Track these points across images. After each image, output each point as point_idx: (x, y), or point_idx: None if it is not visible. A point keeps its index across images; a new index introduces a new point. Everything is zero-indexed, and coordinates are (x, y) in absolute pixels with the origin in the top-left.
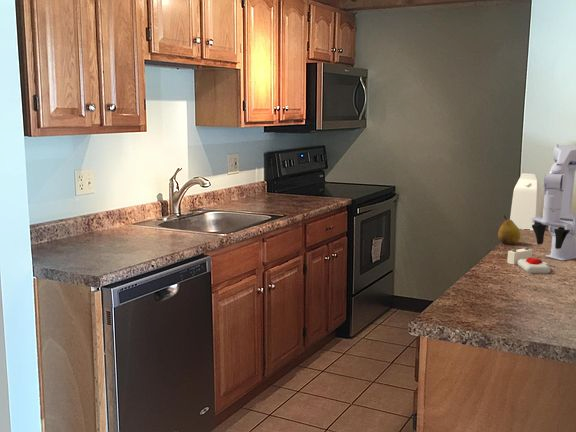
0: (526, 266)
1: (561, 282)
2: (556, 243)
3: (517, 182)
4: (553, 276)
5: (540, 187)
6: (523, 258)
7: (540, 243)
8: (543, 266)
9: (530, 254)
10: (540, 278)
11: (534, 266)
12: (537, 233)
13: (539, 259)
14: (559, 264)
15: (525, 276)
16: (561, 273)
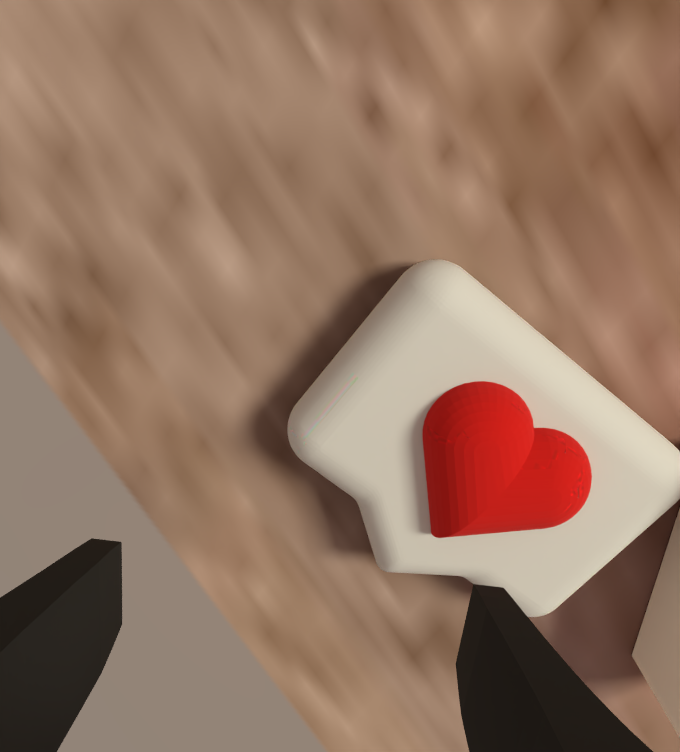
0: (482, 296)
1: (28, 221)
2: (41, 584)
3: None
4: (209, 358)
5: None
6: None
7: (467, 629)
8: (336, 409)
9: (673, 695)
10: (230, 175)
11: (398, 330)
12: (569, 745)
13: (456, 525)
14: (418, 735)
15: (370, 104)
16: (236, 508)
